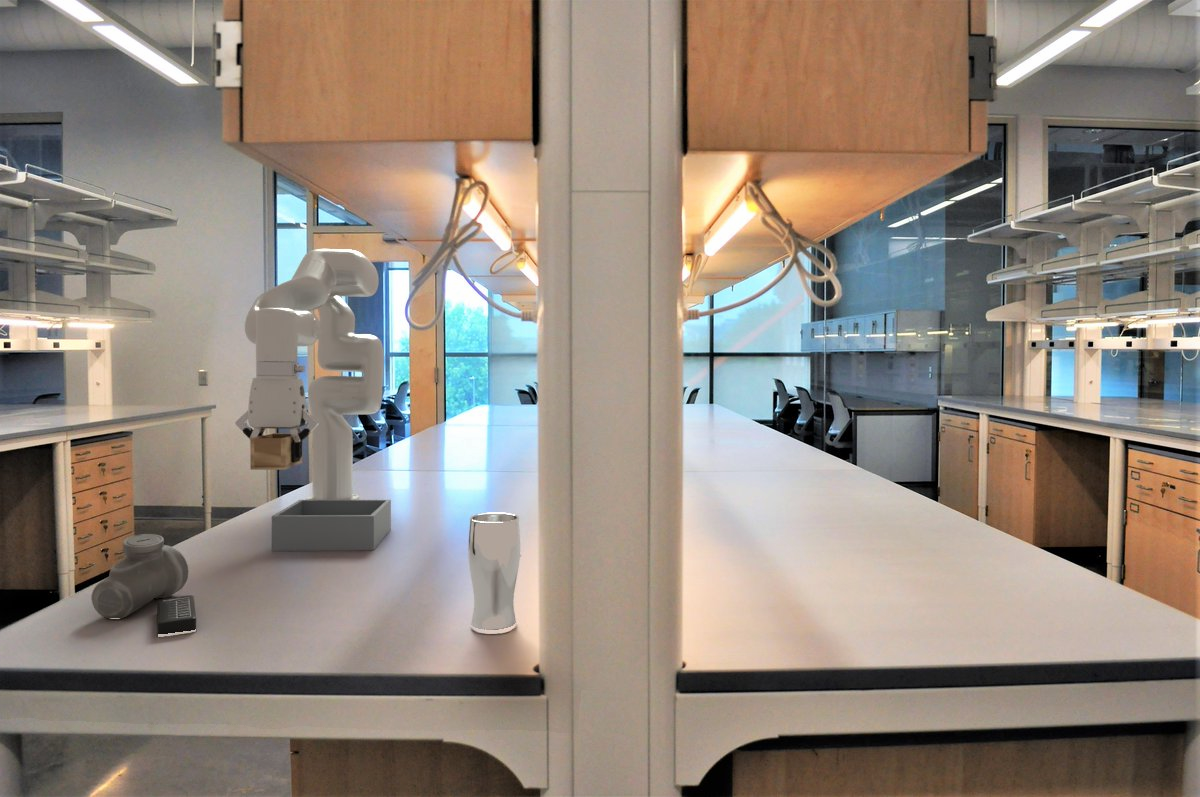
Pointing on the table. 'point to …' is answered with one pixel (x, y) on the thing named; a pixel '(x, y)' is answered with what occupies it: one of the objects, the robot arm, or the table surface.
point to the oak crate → (271, 452)
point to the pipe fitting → (140, 576)
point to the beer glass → (494, 568)
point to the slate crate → (331, 525)
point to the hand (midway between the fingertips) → (277, 460)
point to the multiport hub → (176, 615)
